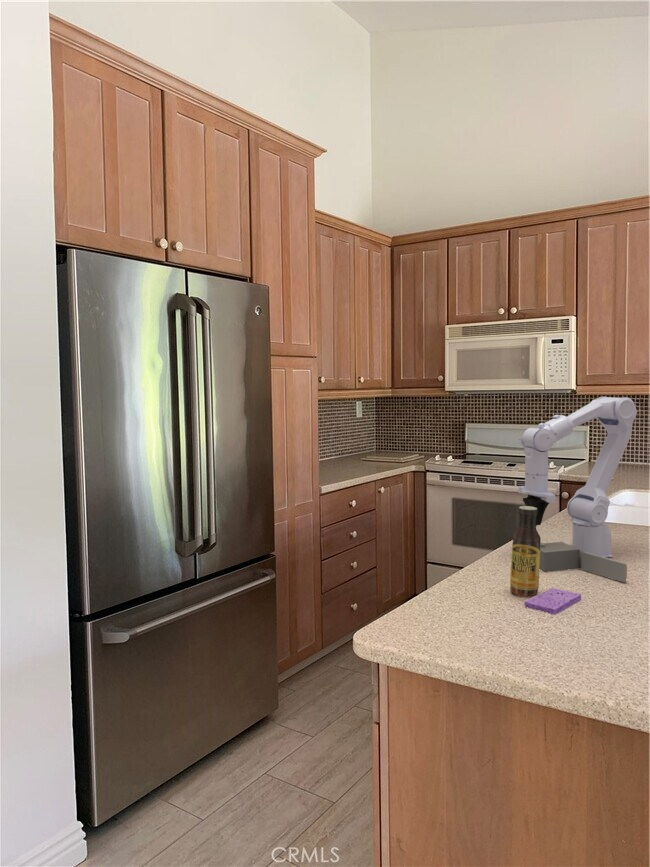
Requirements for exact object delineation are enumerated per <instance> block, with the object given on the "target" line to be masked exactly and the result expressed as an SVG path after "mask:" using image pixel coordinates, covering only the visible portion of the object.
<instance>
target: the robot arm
mask: <svg viewBox="0 0 650 867" xmlns="http://www.w3.org/2000/svg"><path fill="white" fill-rule="evenodd" d="M637 413H638V410H637V408H636V404H635V402H634V401H633V400H632V399H631V398H630V397H626V396H625V397H610V396H600V397H598V398H595V399H592V400H591V402H589V403H588V404H586V405H585V406H583V407H580V408H579V409H577V410H575V411H574V412H573V413H570V414H569V415H567V416H566V415H562V414H561V415H560V414H555V415H553V416H552V419H550V420H548V421H546V422H541V423H538V426H537V427H529V428H527V429H526V430H525V431H524V432H523V434H522V436H521V438H519V440H520V443H521V446H522V447H523V450H524V451H523V452H524V456H525V458H524V460H525V461H524V485H519V486H518V494H520V495H521V494H523V495H526V496H527V497H523V498H522V501H523V504H524V506H531V507H535V508H537V516H536V526H541V525H542V521H543V519H544V514H545V512H546V510H547V507H548V506H549V504H550V503H556V494H554V493H552V492H551V491H550V490H549V488H548V487H549V486H548V484H549V450H550V449H551V448H552V447H553V445H554V443H556V442H559V441H561V440H562V439H564V438H566V437H568V436H570V435H572V433H573V431H574V428H576V427H578V426H581V425H583V424H585V423H587V422H589V421H592V420H594V419H597V420H598V421H599V423H600V424H601V425H602V427H603V428H604V429H605V430H606V433H607V436H606V438H605V439H604V442H603V444H602V447H601V449H600V451H599V454H598V456H597V458H596V460H595V462H594V464H593V467H592V470H591V471H590V474H589V477H588V478H587V480H586V483H585V484H584V486H582V487H581V488H579V489H577V490H576V491H575V494H574V495H573V496H572V497H571V498H570V499H569V500H568V502H567V504H566V511H567V514H568V516H569V517H570V518H571V519H570V521H571V522H572V541H571V543H572V545H571V546H573V547H575V548H578V549H580V551H584V552H587V553H591V554H594V555H598V556H601V557H605V558H608V559H609V558H613V557H614V556H613V554H612V531H611V527H610V525H609V524H607V523H606V520H607V518H608V514H609V507H610V504H611V501H610V499H609V496H607V491H608V489H609V487H610V485H611V483H612V480H613V477H614V476H615V473H616V471H617V469H618V466H619V464H620V461H621V460H622V457H623V454H624V452H625V450H626V447H627V446H628V443H629V441H630V439H631V437H632V432H633V431H632V430H633V424H634V423H633V422H634V421H635V418H636V416H637Z"/></svg>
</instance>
